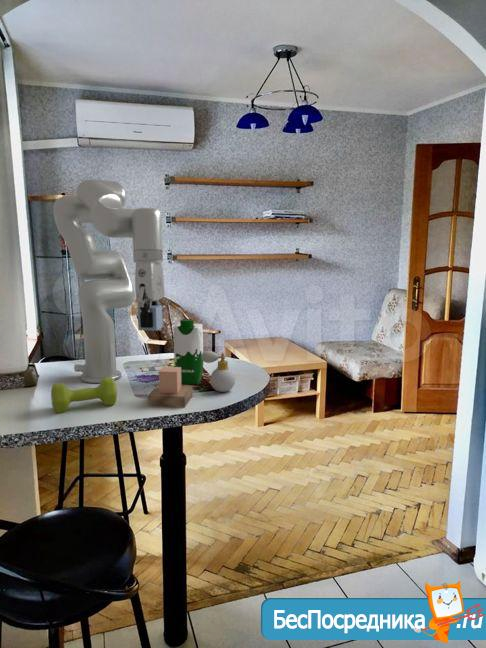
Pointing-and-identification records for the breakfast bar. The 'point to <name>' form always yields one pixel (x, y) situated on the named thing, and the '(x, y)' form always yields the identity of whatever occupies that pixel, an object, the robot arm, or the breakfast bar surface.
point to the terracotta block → (170, 380)
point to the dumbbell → (83, 394)
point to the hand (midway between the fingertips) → (150, 324)
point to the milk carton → (188, 350)
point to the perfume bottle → (219, 372)
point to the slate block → (156, 318)
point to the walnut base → (170, 397)
